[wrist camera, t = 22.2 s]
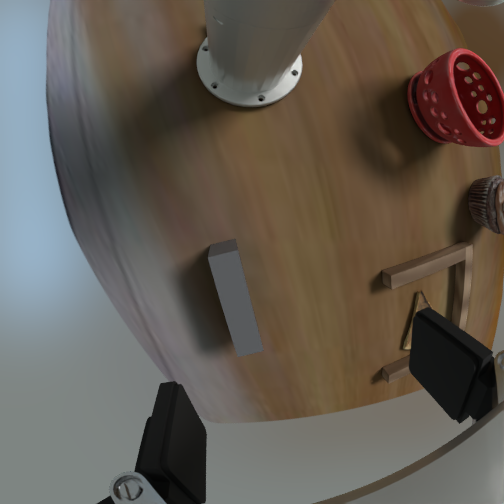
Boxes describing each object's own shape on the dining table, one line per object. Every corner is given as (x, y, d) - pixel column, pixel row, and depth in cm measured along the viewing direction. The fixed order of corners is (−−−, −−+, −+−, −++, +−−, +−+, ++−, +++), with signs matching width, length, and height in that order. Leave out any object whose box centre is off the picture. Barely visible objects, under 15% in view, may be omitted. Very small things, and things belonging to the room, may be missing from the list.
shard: (415, 287, 37) (422, 291, 36) (446, 285, 38) (452, 289, 37) (399, 346, 40) (404, 351, 38) (429, 341, 41) (435, 345, 39)
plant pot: (413, 55, 28) (461, 30, 17) (463, 112, 31) (514, 104, 19) (383, 106, 30) (439, 84, 19) (440, 167, 33) (499, 168, 21)
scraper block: (210, 244, 33) (207, 257, 27) (235, 238, 33) (237, 250, 27) (235, 331, 36) (237, 356, 30) (257, 325, 36) (263, 350, 30)
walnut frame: (381, 270, 35) (391, 275, 33) (462, 241, 36) (472, 244, 34) (382, 375, 40) (388, 383, 38) (454, 338, 41) (462, 344, 39)
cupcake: (497, 204, 36) (535, 211, 26) (476, 239, 37) (516, 252, 27) (480, 163, 33) (522, 165, 24) (458, 198, 34) (503, 205, 25)
